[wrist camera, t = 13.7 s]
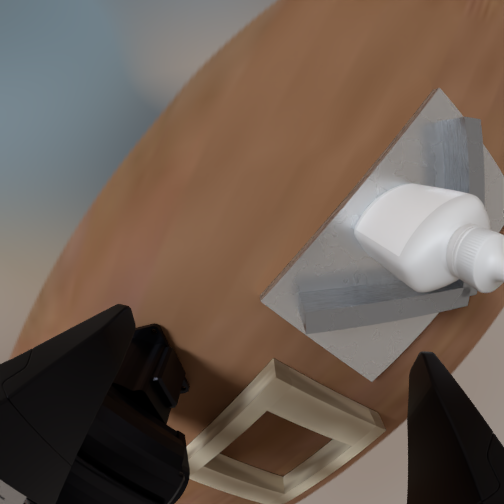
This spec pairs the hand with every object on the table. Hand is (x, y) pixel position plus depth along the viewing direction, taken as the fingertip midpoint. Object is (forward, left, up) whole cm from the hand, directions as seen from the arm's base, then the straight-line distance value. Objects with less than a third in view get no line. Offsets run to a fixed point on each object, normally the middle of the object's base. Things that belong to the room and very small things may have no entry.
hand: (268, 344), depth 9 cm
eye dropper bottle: (+9, -1, -12) cm, 15 cm away
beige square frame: (-4, -19, -13) cm, 23 cm away
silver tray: (+11, -3, -13) cm, 17 cm away
